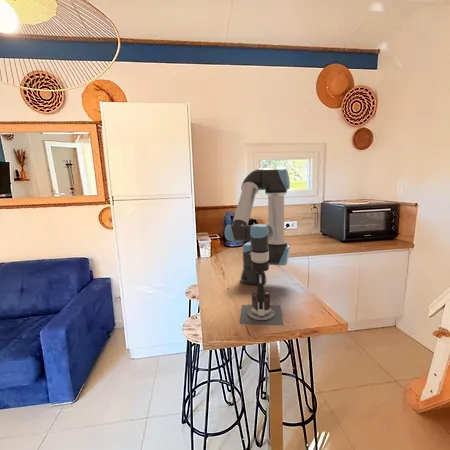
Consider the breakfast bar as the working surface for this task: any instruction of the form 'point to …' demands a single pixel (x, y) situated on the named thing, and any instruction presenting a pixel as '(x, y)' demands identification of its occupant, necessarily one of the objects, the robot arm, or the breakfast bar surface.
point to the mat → (274, 321)
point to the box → (255, 297)
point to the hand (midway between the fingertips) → (260, 310)
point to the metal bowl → (267, 316)
